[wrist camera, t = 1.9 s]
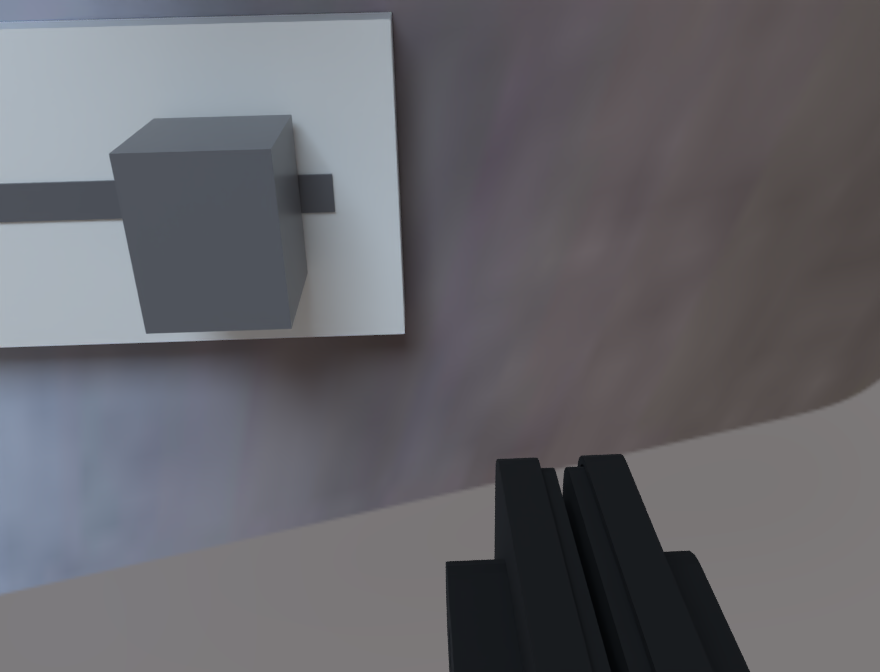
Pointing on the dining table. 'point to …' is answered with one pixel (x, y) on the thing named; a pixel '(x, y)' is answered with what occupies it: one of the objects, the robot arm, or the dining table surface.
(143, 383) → the dining table surface
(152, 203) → the fader knob
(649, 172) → the dining table surface
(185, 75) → the console
